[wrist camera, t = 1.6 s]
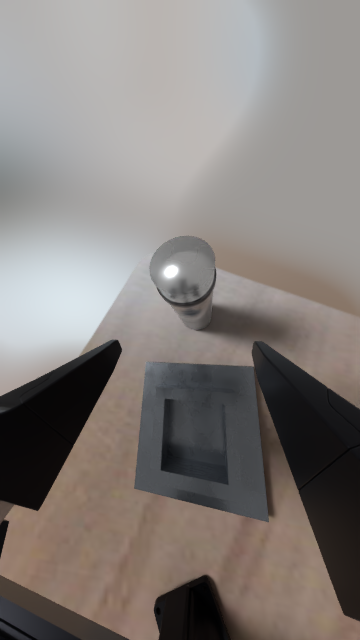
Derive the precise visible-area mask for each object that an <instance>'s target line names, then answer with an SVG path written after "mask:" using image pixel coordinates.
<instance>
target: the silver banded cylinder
mask: <svg viewBox="0 0 360 640" xmlns="http://www.w3.org/2000/svg"><path fill="white" fill-rule="evenodd" d="M150 276H151V278H152V281H153V282H154V284H155V285H156V286H157V289H158V292H159V293H160V295H161V296H162V297H163V299H164V300H165V301H166V302H168V303H169V304H170V305H171V307H172V308H173V309H174V311H175V312H176V313H177V315H178V316H179V318H180V319H181V320H182V322H183V323H184V324H185V325H186V326H187V327H188V328H190V329H193V330H200V329H203V328H205V327H206V326H207V325H208V324H209V323H210V321H211V316H212V301H213V289H214V287H215V282H216V269H215V255H214V252H213V250H212V248H211V246H210V245H209V244H208V243H207V242H205V241H204V240H202V239H200V238H197V237H194V236H180V237H177V238H173V239H171V240H169V241H167V242H165V243H164V244H163V245H161V246H160V247H159V248H158V249H157V251H156V252H155V253H154V255H153V257H152V259H151V262H150Z"/></svg>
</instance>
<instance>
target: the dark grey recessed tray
mask: <svg viewBox="0 0 360 640" xmlns="http://www.w3.org/2000/svg"><path fill="white" fill-rule="evenodd" d="M134 489H138V490H142V491H146V492H150V493H154V494H158V495H162V496H166V497H170V498H174V499H178V500H182V501H186V502H190V503H194V504H198V505H202V506H206V507H210V508H214V509H218V510H222V511H226V512H230V513H234V514H238V515H242V516H246V517H250V518H254V519H258V520H262V521H266V522H269V518H268V508H267V498H266V488H265V478H264V468H263V458H262V448H261V438H260V428H259V418H258V408H257V398H256V388H255V377H254V367H252V366H232V365H210V364H187V363H165V362H146V368H145V379H144V390H143V401H142V412H141V422H140V433H139V444H138V455H137V466H136V476H135V487H134Z"/></svg>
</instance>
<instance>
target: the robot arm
mask: <svg viewBox="0 0 360 640" xmlns="http://www.w3.org/2000/svg"><path fill="white" fill-rule="evenodd" d="M121 352H122V348H121V346H120V343H119V341H118V340H110V341H108V342H107V343H105V344H103V345H101V346H99V347H97V348H95V349H93V350H91V351H89V352H87V353H85V354H84V355H82V356H80V357H78V358H76V359H74V360H72V361H70V362H68V363H66V364H65V365H62V366H61V367H59V368H57V369H55V370H53V371H51V372H49V373H47V374H45V375H43V376H41V377H39V378H38V379H36V380H33V381H31V382H29V383H27V384H25V385H23V386H21V387H19V388H17V389H15V390H12V391H10V392H8V393H6V394H4V395H2V396H0V557H1V553H2V549H3V544H4V540H5V536H6V532H7V528H8V524H9V521H7V520H5V519H4V518H5V517H6V515H7V514H8V513H9V511H10V510H11V509H12V507H13V506H14V504H15V505H18V506H22V507H25V508H29V509H33V510H36V511H38V510H39V509H40V507H41V506H42V504H43V502H44V500H45V498H46V496H47V495H48V493H49V491H50V489H51V487H52V485H53V483H54V481H55V480H56V478H57V476H58V474H59V472H60V470H61V468H62V466H63V465H64V463H65V461H66V459H67V457H68V455H69V453H70V452H71V450H72V448H73V445H74V444H75V442H76V440H77V438H78V436H79V434H80V433H81V431H82V429H83V427H84V425H85V423H86V421H87V420H88V418H89V416H90V414H91V412H92V410H93V408H94V406H95V405H96V403H97V401H98V399H99V397H100V395H101V393H102V392H103V390H104V388H105V386H106V384H107V382H108V380H109V378H110V377H111V375H112V373H113V371H114V369H115V366H116V364H117V361H118V359H119V357H120V354H121ZM252 357H253V362H254V366H255V370H256V374H257V378H258V382H259V385H260V387H261V390H262V393H263V395H264V398H265V401H266V404H267V406H268V409H269V412H270V415H271V417H272V420H273V423H274V426H275V428H276V431H277V434H278V436H279V439H280V442H281V445H282V447H283V450H284V453H285V456H286V458H287V461H288V464H289V467H290V469H291V472H292V475H293V477H294V480H295V483H296V486H297V488H298V490H299V494H300V497H301V500H302V502H303V505H304V508H305V511H306V513H307V516H308V519H309V522H310V524H311V527H312V530H313V532H314V535H315V538H316V541H317V543H318V546H319V549H320V552H321V554H322V557H323V560H324V563H325V565H326V568H327V571H328V573H329V576H330V579H331V582H332V584H333V587H334V590H335V593H336V595H337V598H338V601H339V603H340V606H341V608H342V611H343V613H344V615H345V616H348V617H350V618H353V619H355V620H357V621H360V409H359V408H357V407H355V406H354V405H353V404H351V403H350V402H348V401H347V400H345V399H344V398H342V397H341V396H339V395H338V394H336V393H335V392H334V391H332V390H331V389H329V388H328V389H327V387H326V386H325V385H324V384H322V383H321V382H319V381H318V380H316V379H315V378H314V377H312V376H311V375H309V374H308V373H307V372H305V371H304V370H302V369H301V368H299V367H298V366H297V365H295V364H294V363H292V362H291V361H289V360H288V359H287V358H285V357H284V356H282V355H281V354H279V353H278V352H277V351H275V350H274V349H272V348H271V347H269V346H268V345H267V344H265V343H264V342H262V341H255V342H254V343H253V349H252ZM205 586H206V587H205ZM154 614H155V617H156V621H157V625H158V629H159V633H160V635H159V640H231V639H230V636H229V633H228V631H227V628H226V625H225V623H224V620H223V617H222V614H221V612H220V609H219V606H218V604H217V601H216V598H215V595H214V593H213V590H212V587H211V584H210V582H209V580H208V578H207V577H205V576H202V577H200V578H198V579H196V580H194V581H192V582H190V583H188V584H186V585H183V586H181V587H179V588H177V589H175V590H173V591H171V592H169V593H167V594H164V595H162V596H160V597H158V598H157V599H156V602H155V606H154ZM0 640H129V639H127V638H125V637H123V636H121V635H119V634H117V633H115V632H113V631H111V630H109V629H107V628H105V627H103V626H101V625H99V624H97V623H95V622H93V621H91V620H89V619H87V618H85V617H83V616H81V615H79V614H77V613H75V612H73V611H71V610H69V609H67V608H65V607H63V606H61V605H59V604H57V603H55V602H53V601H51V600H49V599H47V598H45V597H43V596H41V595H39V594H37V593H35V592H33V591H31V590H29V589H27V588H25V587H23V586H21V585H19V584H17V583H15V582H13V581H11V580H9V579H7V578H5V577H3V576H1V575H0Z"/></svg>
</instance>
